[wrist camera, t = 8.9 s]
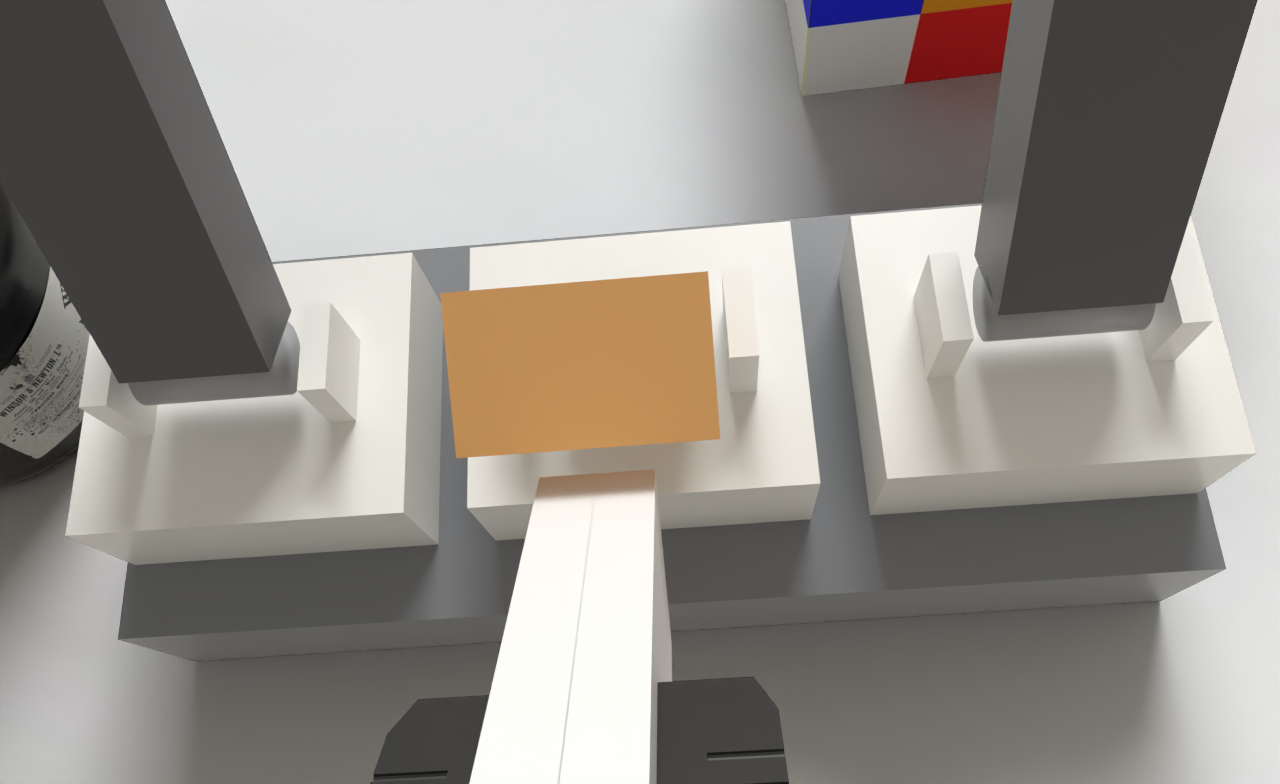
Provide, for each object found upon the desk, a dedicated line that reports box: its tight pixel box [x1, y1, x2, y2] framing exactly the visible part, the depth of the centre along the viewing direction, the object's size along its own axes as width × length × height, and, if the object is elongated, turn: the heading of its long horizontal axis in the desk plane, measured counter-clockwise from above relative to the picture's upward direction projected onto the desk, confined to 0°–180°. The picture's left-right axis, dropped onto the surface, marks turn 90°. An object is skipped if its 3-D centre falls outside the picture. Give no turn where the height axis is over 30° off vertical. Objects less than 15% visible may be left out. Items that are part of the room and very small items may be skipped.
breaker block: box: [0, 0, 1257, 661], centre depth 22 cm, size 10×26×18 cm, turn 93°
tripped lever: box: [440, 271, 720, 458], centre depth 18 cm, size 2×3×11 cm, turn 93°
